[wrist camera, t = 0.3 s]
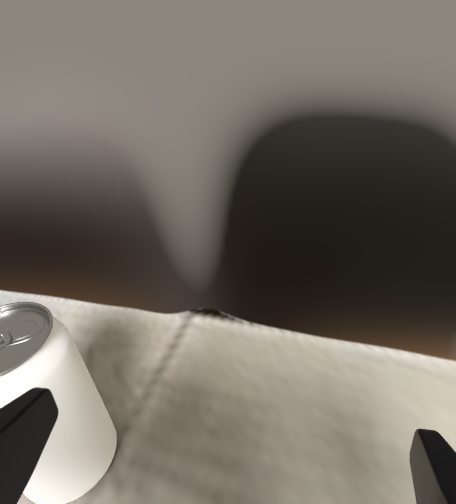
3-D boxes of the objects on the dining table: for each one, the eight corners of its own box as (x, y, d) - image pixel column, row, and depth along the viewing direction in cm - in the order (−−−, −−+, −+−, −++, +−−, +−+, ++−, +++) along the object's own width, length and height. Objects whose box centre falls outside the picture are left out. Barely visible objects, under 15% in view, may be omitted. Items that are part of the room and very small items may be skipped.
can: (135, 458, 25) (79, 336, 18) (40, 535, 22) (-70, 421, 15) (95, 398, 29) (39, 282, 23) (11, 455, 26) (-85, 339, 19)
